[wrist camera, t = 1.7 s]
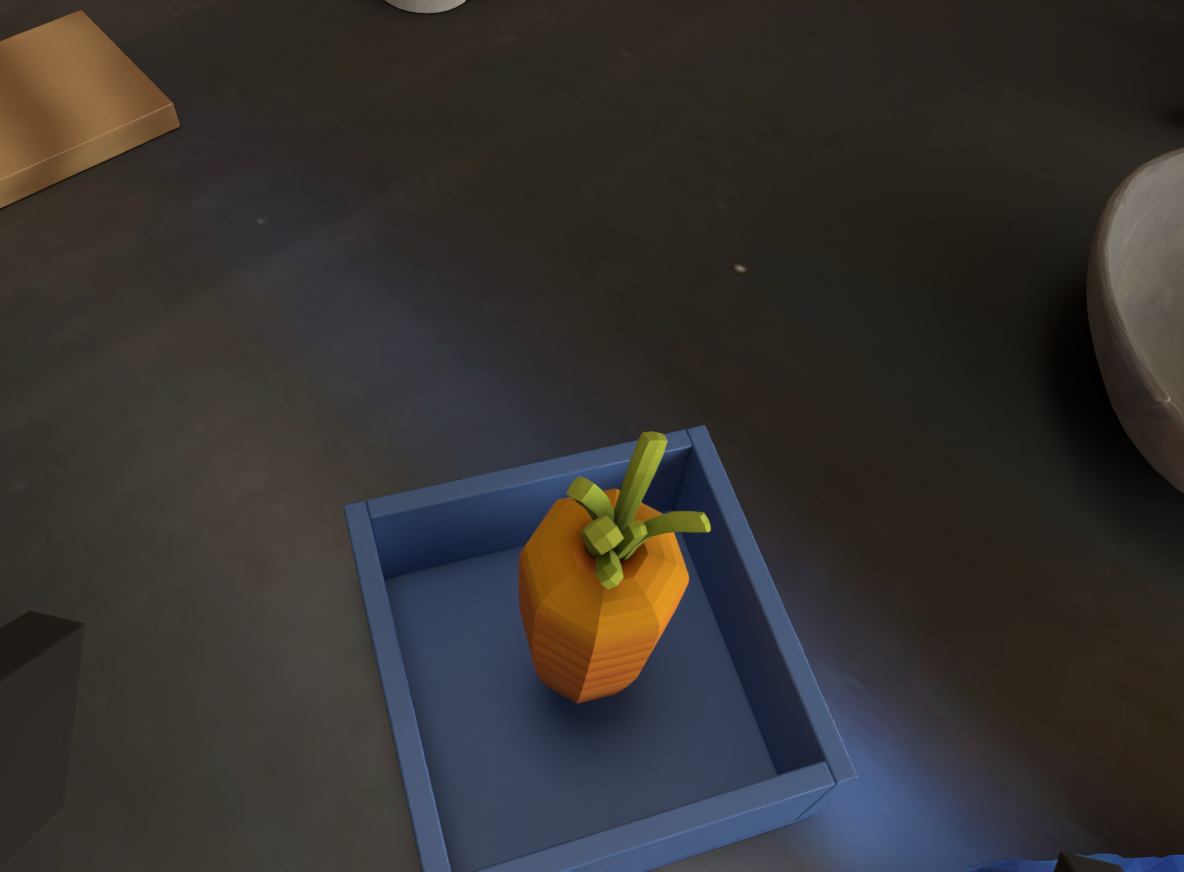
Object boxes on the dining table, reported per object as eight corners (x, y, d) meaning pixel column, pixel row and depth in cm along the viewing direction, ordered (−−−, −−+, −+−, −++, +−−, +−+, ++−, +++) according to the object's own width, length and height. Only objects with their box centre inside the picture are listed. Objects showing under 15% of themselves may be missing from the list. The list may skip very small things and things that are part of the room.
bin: (437, 940, 34) (431, 914, 29) (357, 573, 41) (342, 504, 36) (811, 817, 37) (859, 777, 33) (680, 495, 44) (705, 423, 39)
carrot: (587, 597, 40) (638, 370, 28) (669, 698, 39) (764, 505, 26) (482, 670, 39) (485, 461, 26) (562, 780, 37) (608, 613, 24)
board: (-55, 234, 48) (-69, 210, 47) (-140, 125, 51) (-156, 100, 50) (180, 126, 53) (173, 103, 52) (90, 34, 56) (81, 9, 55)
